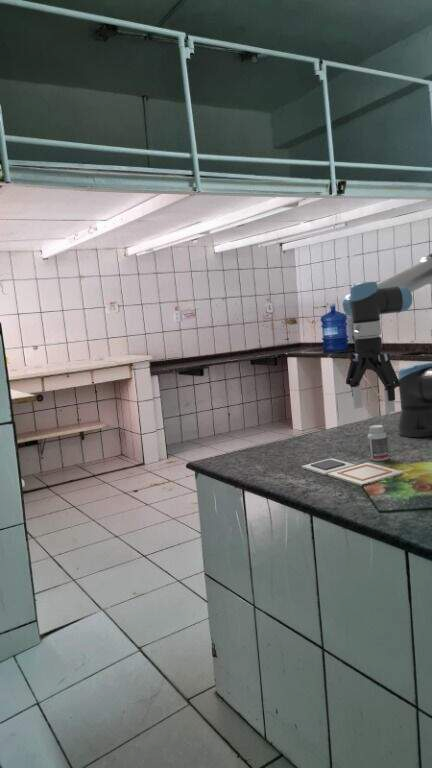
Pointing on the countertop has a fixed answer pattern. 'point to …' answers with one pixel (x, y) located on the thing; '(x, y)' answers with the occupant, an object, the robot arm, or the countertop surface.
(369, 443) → the pill bottle
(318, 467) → the ink pad
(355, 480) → the print card
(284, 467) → the countertop surface
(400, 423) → the robot arm
